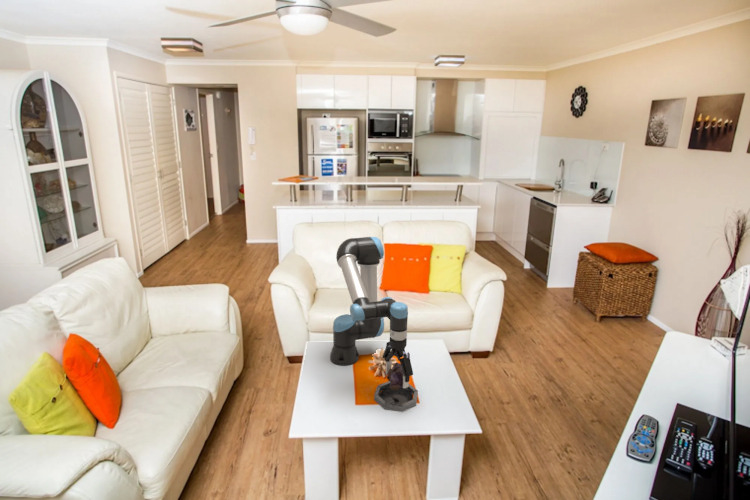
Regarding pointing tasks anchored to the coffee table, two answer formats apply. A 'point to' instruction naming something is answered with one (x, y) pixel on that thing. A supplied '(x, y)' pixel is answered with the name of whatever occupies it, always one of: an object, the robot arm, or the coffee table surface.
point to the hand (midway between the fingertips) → (396, 380)
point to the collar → (395, 397)
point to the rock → (396, 376)
